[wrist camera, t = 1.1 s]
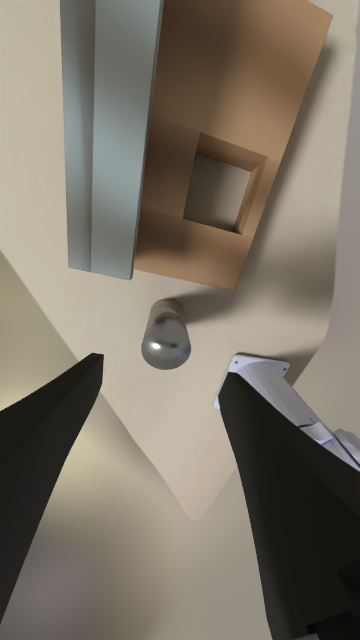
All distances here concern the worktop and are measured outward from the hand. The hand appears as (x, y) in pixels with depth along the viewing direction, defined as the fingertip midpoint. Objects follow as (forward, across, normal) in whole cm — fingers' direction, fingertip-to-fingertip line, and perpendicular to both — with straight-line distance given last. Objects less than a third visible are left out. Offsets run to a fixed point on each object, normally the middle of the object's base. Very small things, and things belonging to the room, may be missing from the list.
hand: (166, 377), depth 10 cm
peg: (+10, 0, 0) cm, 10 cm away
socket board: (+10, 0, -12) cm, 16 cm away
